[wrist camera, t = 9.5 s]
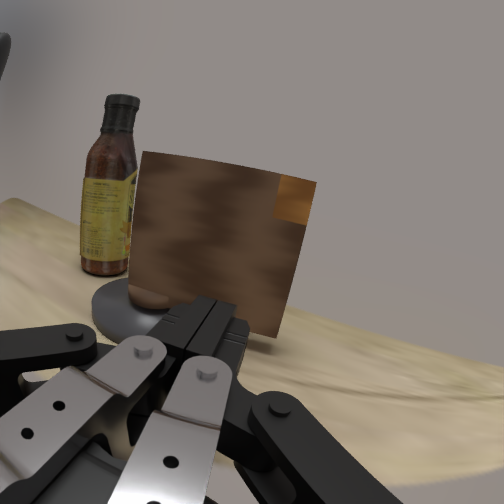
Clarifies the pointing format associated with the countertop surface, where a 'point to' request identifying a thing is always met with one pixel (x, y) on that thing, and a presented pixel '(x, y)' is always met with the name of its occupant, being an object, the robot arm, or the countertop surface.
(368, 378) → the countertop surface
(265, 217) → the brown wooden block
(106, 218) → the sauce bottle
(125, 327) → the base
